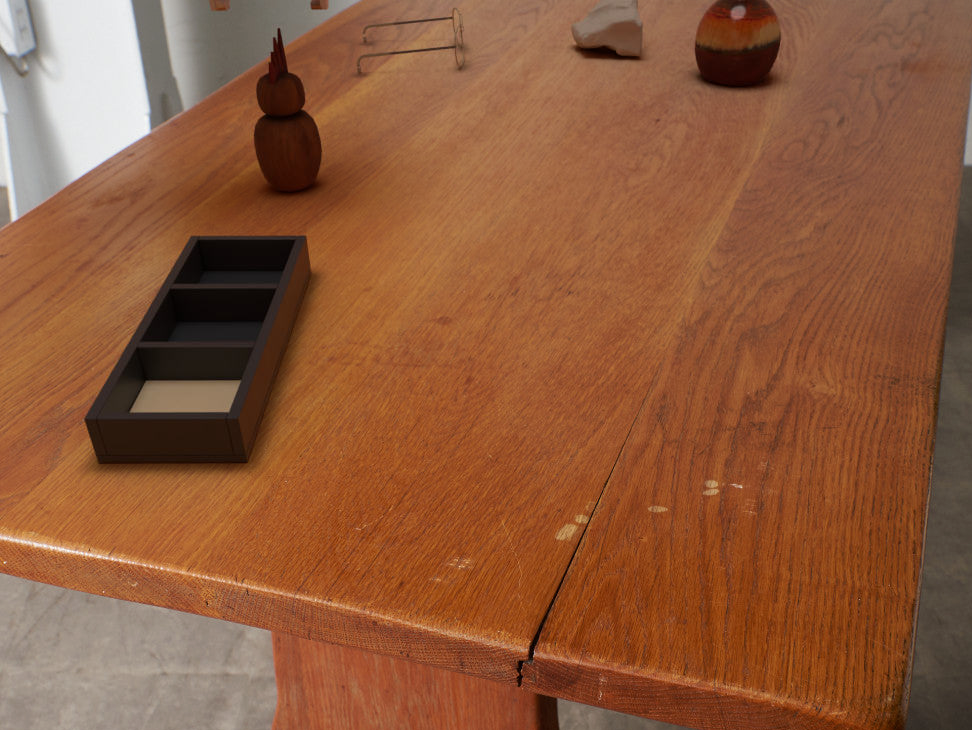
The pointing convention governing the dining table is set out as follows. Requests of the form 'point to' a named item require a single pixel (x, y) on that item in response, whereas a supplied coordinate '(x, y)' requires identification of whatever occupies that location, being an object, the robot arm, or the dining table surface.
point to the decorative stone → (611, 27)
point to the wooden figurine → (285, 127)
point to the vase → (737, 42)
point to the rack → (203, 354)
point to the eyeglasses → (417, 49)
